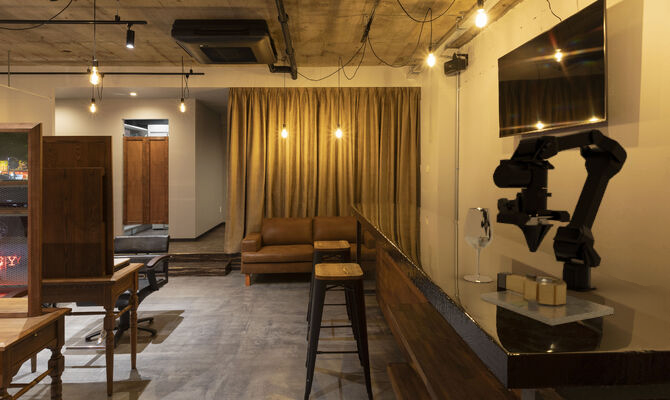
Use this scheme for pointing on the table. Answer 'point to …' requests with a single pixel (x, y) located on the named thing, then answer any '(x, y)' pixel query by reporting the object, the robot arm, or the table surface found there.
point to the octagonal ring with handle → (534, 288)
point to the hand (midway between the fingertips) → (532, 252)
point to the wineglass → (478, 236)
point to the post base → (548, 306)
